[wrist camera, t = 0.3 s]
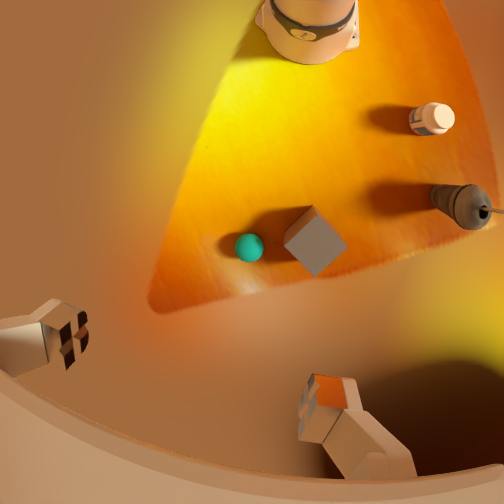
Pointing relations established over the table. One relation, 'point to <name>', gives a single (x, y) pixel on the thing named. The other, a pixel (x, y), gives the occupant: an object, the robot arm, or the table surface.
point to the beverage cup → (463, 204)
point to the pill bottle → (431, 119)
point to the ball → (249, 247)
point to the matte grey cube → (313, 241)
